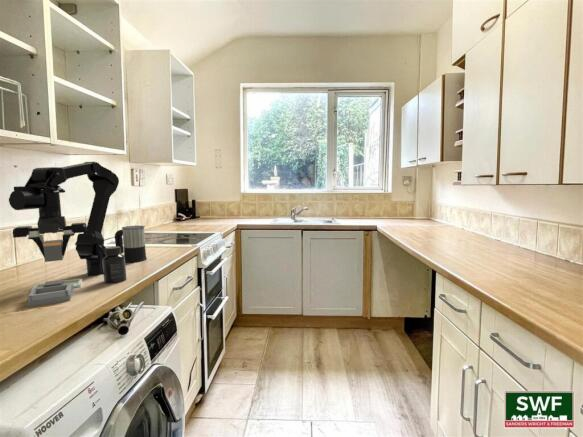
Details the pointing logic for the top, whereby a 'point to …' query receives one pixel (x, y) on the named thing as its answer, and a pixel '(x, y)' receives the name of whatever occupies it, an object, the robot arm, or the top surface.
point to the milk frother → (132, 243)
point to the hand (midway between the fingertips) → (54, 256)
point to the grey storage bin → (51, 293)
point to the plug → (53, 250)
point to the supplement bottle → (114, 265)
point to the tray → (76, 283)
